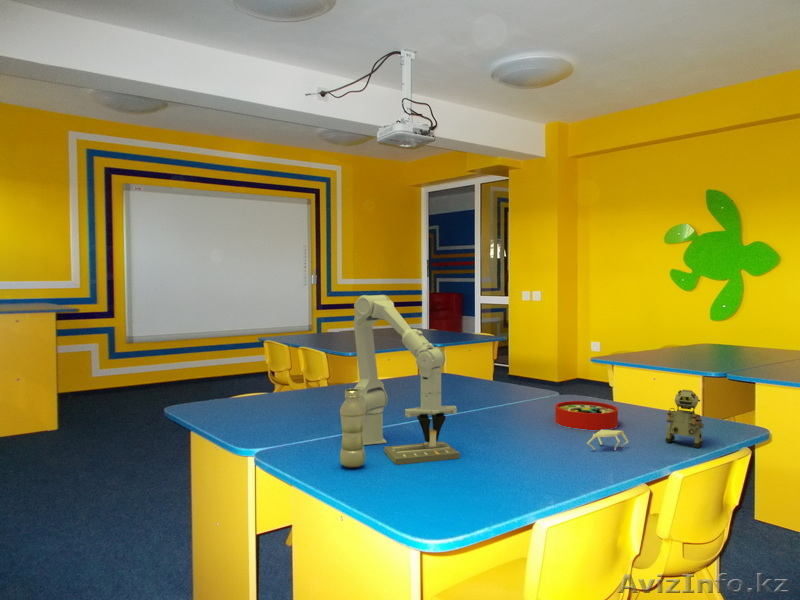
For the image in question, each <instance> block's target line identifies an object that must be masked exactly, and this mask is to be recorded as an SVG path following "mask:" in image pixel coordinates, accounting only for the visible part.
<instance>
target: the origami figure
mask: <svg viewBox="0 0 800 600" xmlns="http://www.w3.org/2000/svg"><path fill="white" fill-rule="evenodd" d="M620 435H621V436H622V438H623V439H624V441H625V442H623V443H622V444H621V445H620V447H621V448H622V447H624V445H626V444H628V443H629V440H628V438H627V437H626V435H625V432H624V430H617V429H616V430H615V429H613V430H602V429H601V430H600V431H596V433H593V434H592V437H591V438H590V439H589V440H588V441H587V442H586V444H587V445H588V446H589V447H591V448H592V450H593V451H594V450H596V447H595V446H594V445H592V444H591V442H593V440H595V439H596V438H597V439H598V441H599V443H600V445H601V446H602V445H603V442H602V438H610V437H615V439H616V441H617V442H616V444H615V445H614V451H615V450H616V449H617V447H618V446H619V444H620V441H621V440H620V439H619V437H618V436H620Z"/></svg>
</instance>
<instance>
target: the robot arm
mask: <svg viewBox="0 0 800 600" xmlns="http://www.w3.org/2000/svg"><path fill="white" fill-rule="evenodd" d="M353 307H354V319H353V329H354V338H355V348H356V349H355V350H356V357H357V358H356V359H357V367H358V376H359V377H358V378H359V381H358V382H357V384H356V385H355V386H354V388H353V389H358V390H359V395H360V397H359V400H360V402H361V403H362V404H363V406H364V409H365V414H364V422H363V445H364V446H365V445H368V446H369V445H378V444H387V440H386V439H385V438H384V435H383V434H384V433H383V430H384V428H383V426H384V425H383V424H384V421H383V420H384V419H383V412H384V409H385V408H384V407H386V406H387V405H388V394H387V391H386V390H385V385H384V383H383V382H382V381H381V380H380V379H379V378H378V376H379V375H378V368H377V359H376V358H377V357H376V349H375V341H374V330H373V327H374V326H375V324H376V323H377V322H378V321H380V320H381V319H382V320H384V321H386V322H387V323H388V324H389V325H390V326H391V327H392V328H393V329H394V330H395V331H396V332H397V333H398V334H399V335H400V336H401V337H402V339H401V343H402V344H403V345H404V346H405V348H406V349H407V350H408V351H409V352H410V353H411V354H412V356H413V357H414V358H415V365H416V366H417V368H418V370H419V372H418V373H419V376H420V406H416V407H411V408H405V409H404V416H405V417H406V418H412V417H416V418H417V420H418V423H419V425H420V427H421V430H422V433H423V437H424V441H425V443H426V442H429V440H430V435H429V428H431V423H432V428H433V429H434V430H436V431H437V433H436V442H439V437H440V433H441V429H442V427H443V424H444V423H445V421H446V419H447V417H446V415H448V414H451V415H452V414H453V415H457V414H458V412H457V410H458V409H457V406H456V405H442V367H443V366H444V365H445V362H446V356H445V353H444V351H443V349H441V348H440V347H435V346H434V345H433V343H431V342H429V340H428V339H427V338H426V337H425V336H424V335H423V334H424V333H423V332H422V330H421V329H420V330H418V328H411V326H410V325H409V324H408V322H406V320H405V319H404V318H403V316H402V315H401V314H400V313H399V311H398V310H397V309H396V308H395V303H394V302H393V300H391V299H390V297H389V296H388V295H386V294H379V295H377V294H376V295H367V294H365V295H364V294H363V295H360V296H359V297H358V298H357V299H356V301H355V302H354V303H353ZM429 416H431V419H430V417H429ZM431 421H432V422H431Z"/></svg>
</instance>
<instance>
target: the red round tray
mask: <svg viewBox="0 0 800 600" xmlns="http://www.w3.org/2000/svg"><path fill="white" fill-rule="evenodd" d="M554 407H555V409H554V410H555V411H554V417H555V418H554V419H555V420H554V422H556V423H558V424H560V425H562V426H566V427H571V428H578V429H587V430H601V429H602V430H603V429H611V428H615V427H616V426H618V427H619V410H618V407H617V406H616V405H613V404H610V403H609V404H608V403H604V402H599V401H598V402H597V401H589V400H588V401H587V400H569V401H562V402H558V403H556V404H554ZM556 423H555V424H556ZM615 429H616V428H615Z"/></svg>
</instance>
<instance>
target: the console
mask: <svg viewBox="0 0 800 600" xmlns="http://www.w3.org/2000/svg"><path fill="white" fill-rule="evenodd" d="M436 443H437V444H438V445H439V446H440V448H434V449H423V444H426V442H424V443H421V442H420V443H412V444H411V443H410V444H401V445H398V444H397V445H391V446H390V445H389V446H384V447H383V453H384V452H385V453H386V454H387V455H386V454H385V453H384V454H385V455H386V456H387V457H388V458H389V459H390V460H391V461H392V463H393V462H394V463H395V464H394V463H393V464H394V465H395V466H396V465H397V466H398V464H399V465H408V464H418V463H427V462H428V463H429V462H437V461H448V459H449V460H457V459H460V457H461V456H460V453H461V452H459V451H458V450H456V448H454V447H452V446H451V445H449V444H448V443H447V442H445V441H444V440H443V441H436Z"/></svg>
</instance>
